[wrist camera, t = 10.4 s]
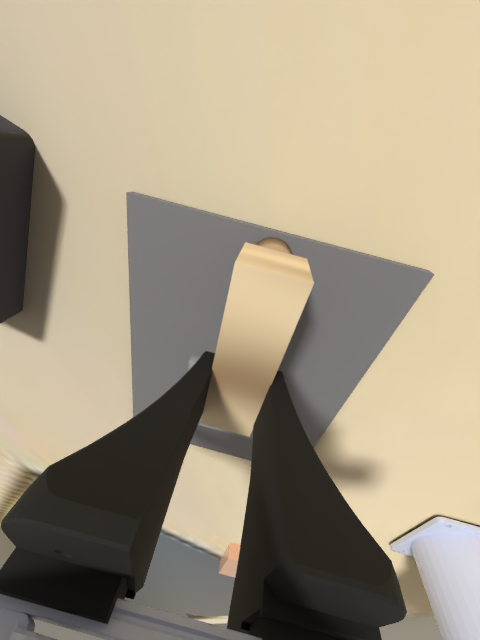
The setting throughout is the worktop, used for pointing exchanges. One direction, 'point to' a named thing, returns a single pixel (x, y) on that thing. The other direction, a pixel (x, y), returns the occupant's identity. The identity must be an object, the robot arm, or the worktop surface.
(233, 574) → the tile
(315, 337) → the mat
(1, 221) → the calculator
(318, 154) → the worktop surface
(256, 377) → the beige long bar
